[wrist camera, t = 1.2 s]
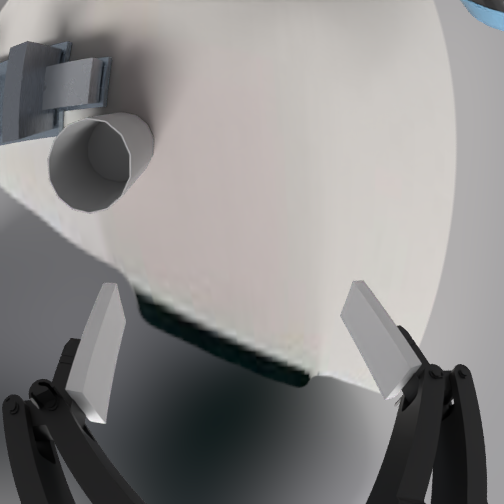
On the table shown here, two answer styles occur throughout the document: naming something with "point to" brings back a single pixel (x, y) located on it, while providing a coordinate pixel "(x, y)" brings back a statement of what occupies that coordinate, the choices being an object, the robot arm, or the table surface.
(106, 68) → the vise base
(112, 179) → the cup
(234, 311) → the table surface
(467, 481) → the robot arm
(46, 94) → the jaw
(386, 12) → the table surface
